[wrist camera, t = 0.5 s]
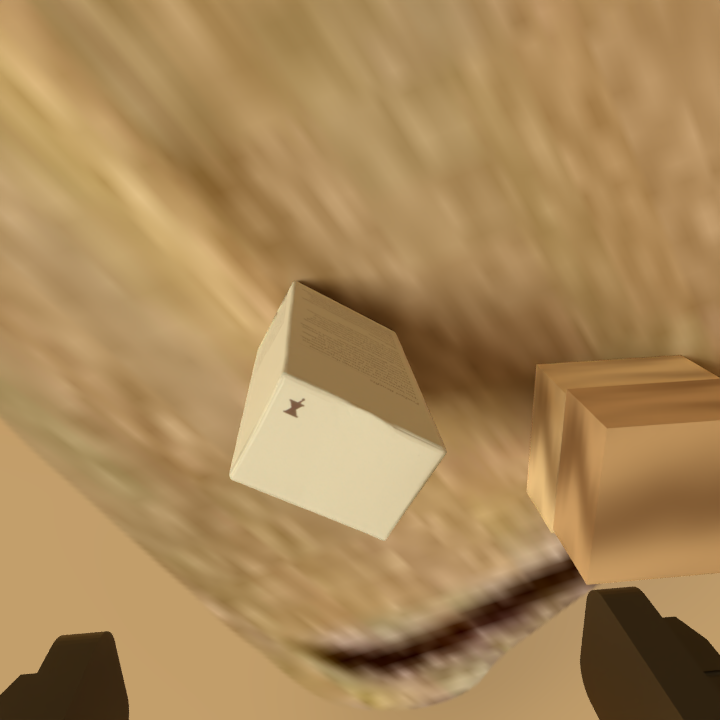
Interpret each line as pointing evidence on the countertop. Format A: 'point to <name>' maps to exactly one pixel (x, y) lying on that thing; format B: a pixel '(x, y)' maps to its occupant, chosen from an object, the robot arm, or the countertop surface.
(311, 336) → the skincare box
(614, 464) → the tan square block
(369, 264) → the countertop surface
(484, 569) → the countertop surface
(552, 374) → the block lower
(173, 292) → the countertop surface
